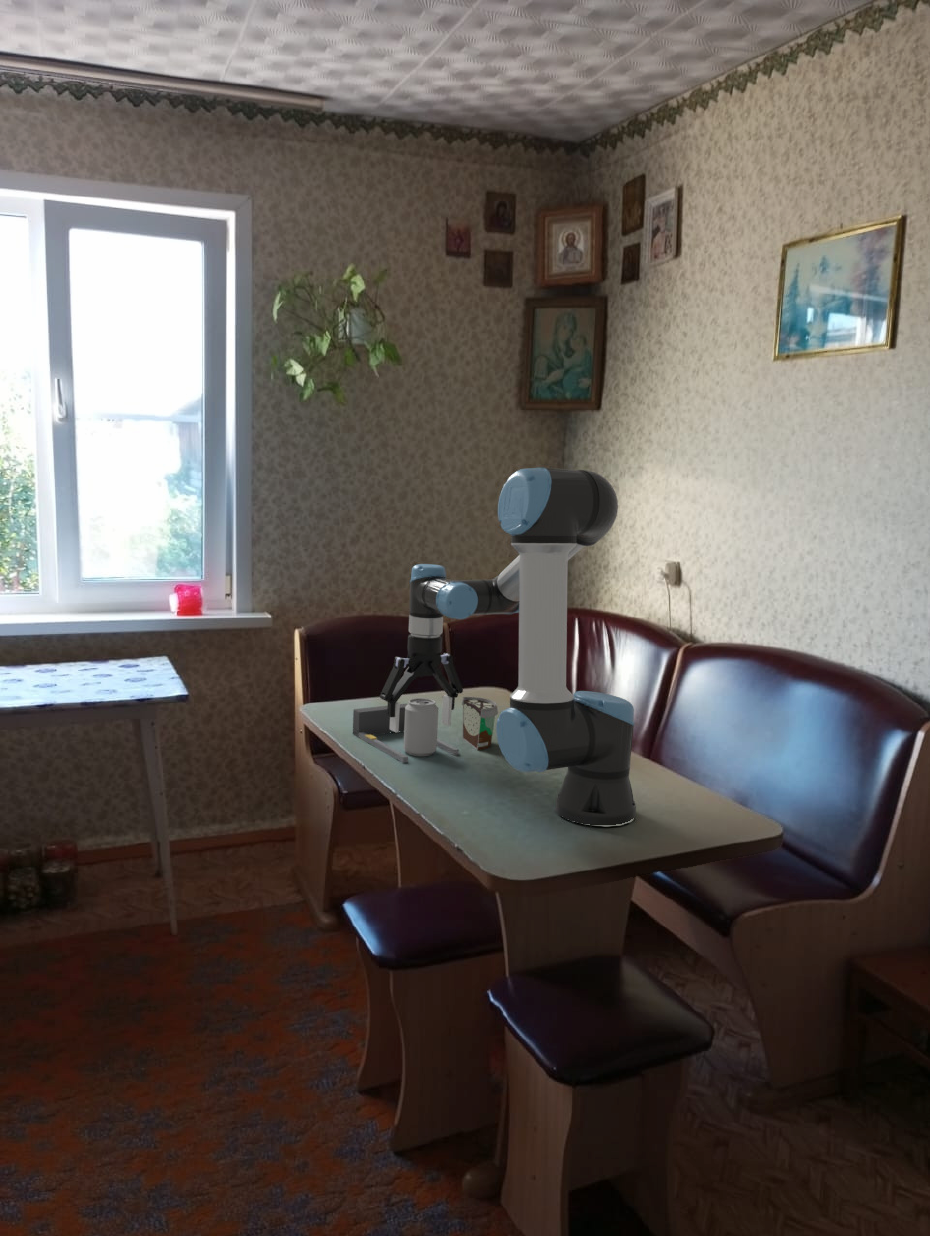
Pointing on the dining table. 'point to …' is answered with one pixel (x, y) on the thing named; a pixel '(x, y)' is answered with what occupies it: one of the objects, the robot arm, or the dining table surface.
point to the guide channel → (384, 729)
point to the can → (421, 727)
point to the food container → (478, 721)
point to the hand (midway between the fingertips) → (420, 727)
